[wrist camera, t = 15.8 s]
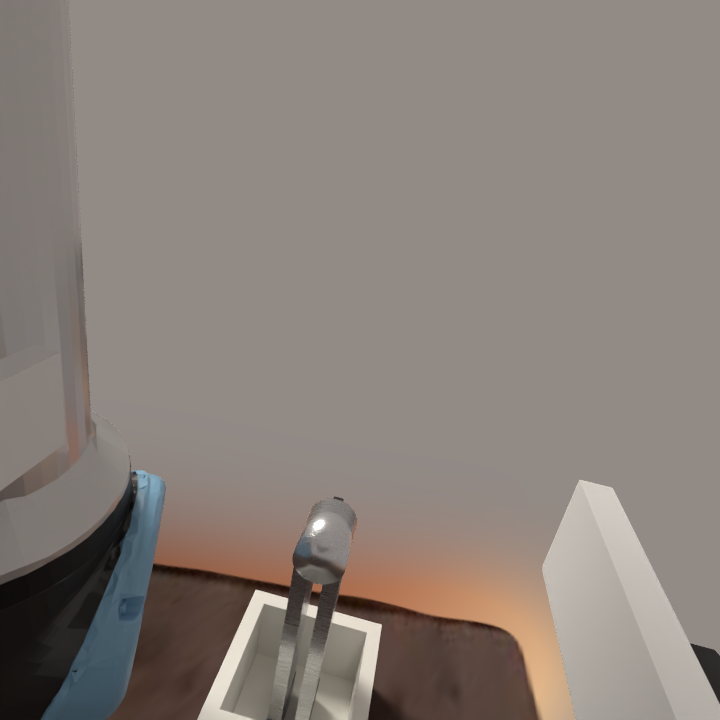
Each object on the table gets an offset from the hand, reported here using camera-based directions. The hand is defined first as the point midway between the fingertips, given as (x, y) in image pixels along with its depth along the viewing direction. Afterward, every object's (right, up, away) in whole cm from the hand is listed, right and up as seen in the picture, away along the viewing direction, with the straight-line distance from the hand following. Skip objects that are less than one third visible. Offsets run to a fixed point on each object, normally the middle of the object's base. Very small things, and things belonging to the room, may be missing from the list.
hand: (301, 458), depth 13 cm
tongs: (-4, -23, +24) cm, 33 cm away
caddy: (-4, -24, +24) cm, 34 cm away
